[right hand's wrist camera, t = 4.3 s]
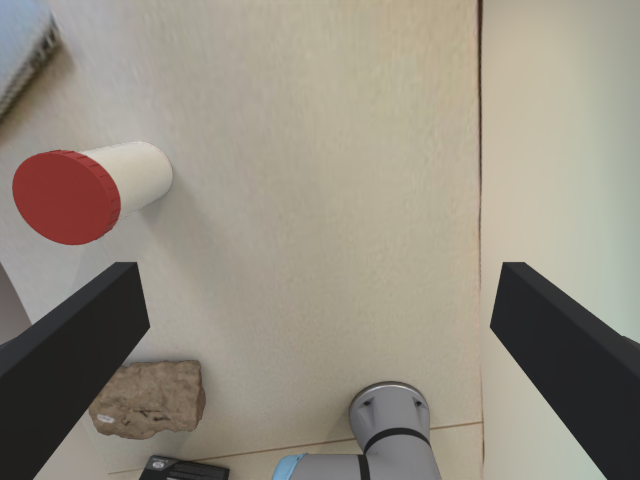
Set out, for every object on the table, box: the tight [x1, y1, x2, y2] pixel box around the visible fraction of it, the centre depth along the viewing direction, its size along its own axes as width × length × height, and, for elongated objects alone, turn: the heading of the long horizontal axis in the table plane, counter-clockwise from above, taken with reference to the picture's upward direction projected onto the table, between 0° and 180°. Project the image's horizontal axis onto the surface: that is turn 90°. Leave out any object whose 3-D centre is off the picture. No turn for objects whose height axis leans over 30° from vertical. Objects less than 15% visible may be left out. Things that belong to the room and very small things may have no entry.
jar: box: [78, 141, 173, 222], centre depth 44 cm, size 9×9×17 cm
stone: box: [89, 360, 205, 440], centre depth 63 cm, size 21×15×6 cm
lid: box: [12, 150, 121, 245], centre depth 36 cm, size 10×10×2 cm
